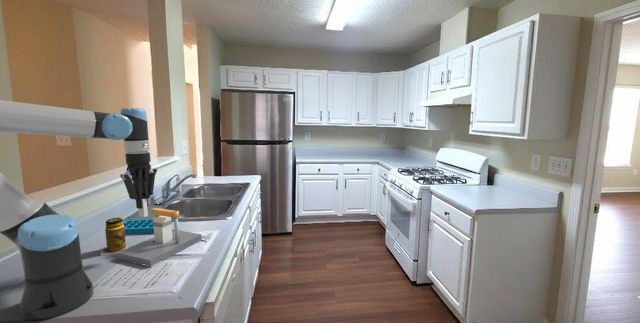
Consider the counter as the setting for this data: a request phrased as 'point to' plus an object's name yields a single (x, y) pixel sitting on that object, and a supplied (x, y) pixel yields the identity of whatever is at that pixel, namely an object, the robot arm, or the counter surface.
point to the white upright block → (162, 229)
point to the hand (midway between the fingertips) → (143, 215)
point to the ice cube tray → (138, 226)
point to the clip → (169, 214)
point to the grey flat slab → (158, 249)
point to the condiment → (114, 236)
